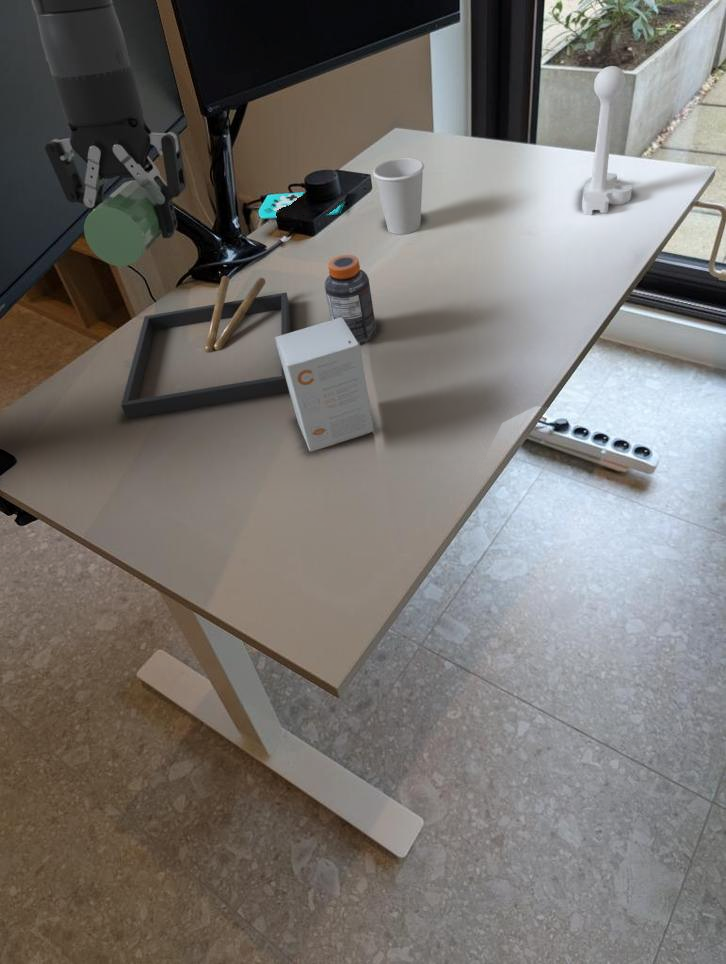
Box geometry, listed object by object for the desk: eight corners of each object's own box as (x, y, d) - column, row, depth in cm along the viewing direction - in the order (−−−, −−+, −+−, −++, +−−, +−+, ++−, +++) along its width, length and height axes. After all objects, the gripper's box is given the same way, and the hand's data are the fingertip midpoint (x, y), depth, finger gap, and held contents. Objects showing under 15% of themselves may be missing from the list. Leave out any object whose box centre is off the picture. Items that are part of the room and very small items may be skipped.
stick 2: (258, 277, 102) (210, 347, 97) (261, 274, 101) (214, 345, 96) (264, 282, 102) (217, 353, 97) (268, 280, 101) (221, 351, 96)
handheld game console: (269, 199, 133) (267, 192, 132) (348, 194, 130) (347, 187, 129) (255, 223, 127) (253, 216, 126) (339, 218, 123) (337, 211, 122)
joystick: (588, 185, 119) (601, 55, 105) (634, 186, 116) (653, 53, 102) (577, 214, 112) (589, 79, 98) (625, 216, 110) (645, 77, 95)
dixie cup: (395, 243, 114) (389, 182, 107) (371, 226, 119) (363, 168, 112) (437, 226, 116) (434, 166, 109) (411, 211, 121) (406, 153, 114)
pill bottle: (357, 318, 99) (345, 245, 91) (385, 332, 95) (375, 257, 87) (326, 337, 96) (311, 264, 88) (354, 352, 93) (341, 277, 85)
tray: (292, 396, 88) (287, 378, 86) (129, 423, 88) (120, 405, 86) (290, 309, 103) (286, 292, 101) (151, 333, 104) (144, 316, 102)
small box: (359, 405, 85) (343, 315, 75) (375, 436, 80) (360, 343, 71) (297, 425, 84) (273, 335, 74) (310, 457, 79) (286, 366, 70)
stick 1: (229, 274, 102) (211, 349, 96) (230, 280, 103) (213, 354, 97) (221, 273, 102) (203, 348, 96) (222, 279, 103) (204, 354, 97)
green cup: (79, 202, 68) (112, 176, 75) (88, 262, 72) (118, 232, 79) (140, 211, 68) (167, 184, 75) (146, 270, 72) (171, 239, 79)
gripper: (173, 54, 68) (209, 222, 79) (38, 64, 70) (91, 228, 80) (149, 67, 62) (191, 247, 73) (2, 77, 64) (64, 252, 74)
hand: (139, 236), depth 76 cm, fingers closed on green cup, 6 cm apart
